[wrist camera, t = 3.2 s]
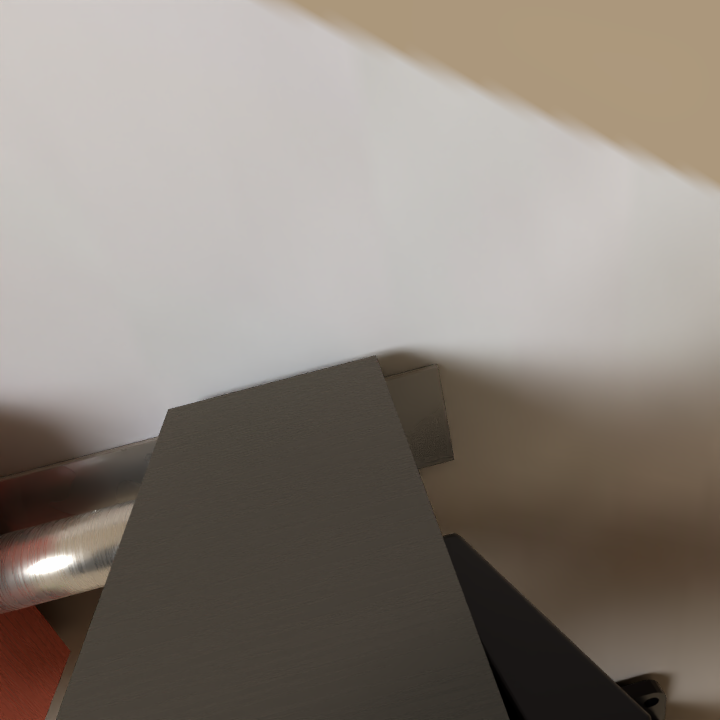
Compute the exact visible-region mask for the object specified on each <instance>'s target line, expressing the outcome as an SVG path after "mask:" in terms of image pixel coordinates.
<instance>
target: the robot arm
mask: <svg viewBox="0 0 720 720" xmlns="http://www.w3.org/2000/svg"><path fill="white" fill-rule="evenodd" d="M442 537H443V540H444V542H445V545H446V548H447V551H448V553H449V556H450V559H451V561H452V564H453V567H454V570H455V572H456V575H457V578H458V580H459V583H460V586H461V589H462V591H463V594H464V597H465V600H466V602H467V605H468V608H469V610H470V613H471V616H472V619H473V621H474V624H475V627H476V630H477V632H478V635H479V638H480V640H481V643H482V646H483V649H484V651H485V654H486V657H487V660H488V662H489V665H490V668H491V670H492V673H493V676H494V679H495V681H496V684H497V687H498V690H499V692H500V695H501V698H502V700H503V703H504V706H505V709H506V711H507V714H508V717H509V720H665V709H666V699H667V698H666V695H665V693H664V692H663V690H662V689H661V687H660V685H659V684H658V682H656V681H655V680H645V681H641V682H637V683H634V684H630V685H626V686H623V687H620V686H618V685H617V684H616V683H615V682H614V681H613V680H612V679H611V678H610V677H609V676H608V675H607V674H606V673H605V672H604V671H603V670H602V669H600V668H599V667H598V666H597V665H596V664H595V663H594V662H593V661H592V660H591V659H590V658H589V657H588V656H587V655H586V654H585V653H584V652H582V651H581V650H580V649H579V648H578V647H577V646H576V645H575V644H574V643H573V642H572V641H571V640H570V639H569V638H568V637H567V636H566V635H564V634H563V633H562V632H561V631H560V630H559V629H558V628H557V627H556V626H555V625H554V624H553V623H552V622H551V621H550V620H549V619H548V618H546V617H545V616H544V615H543V614H542V613H541V612H540V611H539V610H538V609H537V608H536V607H535V606H534V605H533V604H532V603H531V602H530V601H528V600H527V599H526V598H525V597H524V596H523V595H522V594H521V593H520V592H519V591H518V590H517V589H516V588H515V587H514V586H513V585H512V584H511V583H509V582H508V581H507V580H506V579H505V578H504V577H503V576H502V575H501V574H500V573H499V572H498V571H497V570H496V569H495V568H494V567H493V566H491V565H490V564H489V563H488V562H487V561H486V560H485V559H484V558H483V557H482V556H481V555H480V554H479V553H478V552H477V551H476V550H475V549H473V548H472V547H471V546H470V545H469V544H468V543H467V542H466V541H465V540H464V539H463V538H462V537H461V536H459V535H458V534H455V533H453V534H449V535H445V536H442Z"/></svg>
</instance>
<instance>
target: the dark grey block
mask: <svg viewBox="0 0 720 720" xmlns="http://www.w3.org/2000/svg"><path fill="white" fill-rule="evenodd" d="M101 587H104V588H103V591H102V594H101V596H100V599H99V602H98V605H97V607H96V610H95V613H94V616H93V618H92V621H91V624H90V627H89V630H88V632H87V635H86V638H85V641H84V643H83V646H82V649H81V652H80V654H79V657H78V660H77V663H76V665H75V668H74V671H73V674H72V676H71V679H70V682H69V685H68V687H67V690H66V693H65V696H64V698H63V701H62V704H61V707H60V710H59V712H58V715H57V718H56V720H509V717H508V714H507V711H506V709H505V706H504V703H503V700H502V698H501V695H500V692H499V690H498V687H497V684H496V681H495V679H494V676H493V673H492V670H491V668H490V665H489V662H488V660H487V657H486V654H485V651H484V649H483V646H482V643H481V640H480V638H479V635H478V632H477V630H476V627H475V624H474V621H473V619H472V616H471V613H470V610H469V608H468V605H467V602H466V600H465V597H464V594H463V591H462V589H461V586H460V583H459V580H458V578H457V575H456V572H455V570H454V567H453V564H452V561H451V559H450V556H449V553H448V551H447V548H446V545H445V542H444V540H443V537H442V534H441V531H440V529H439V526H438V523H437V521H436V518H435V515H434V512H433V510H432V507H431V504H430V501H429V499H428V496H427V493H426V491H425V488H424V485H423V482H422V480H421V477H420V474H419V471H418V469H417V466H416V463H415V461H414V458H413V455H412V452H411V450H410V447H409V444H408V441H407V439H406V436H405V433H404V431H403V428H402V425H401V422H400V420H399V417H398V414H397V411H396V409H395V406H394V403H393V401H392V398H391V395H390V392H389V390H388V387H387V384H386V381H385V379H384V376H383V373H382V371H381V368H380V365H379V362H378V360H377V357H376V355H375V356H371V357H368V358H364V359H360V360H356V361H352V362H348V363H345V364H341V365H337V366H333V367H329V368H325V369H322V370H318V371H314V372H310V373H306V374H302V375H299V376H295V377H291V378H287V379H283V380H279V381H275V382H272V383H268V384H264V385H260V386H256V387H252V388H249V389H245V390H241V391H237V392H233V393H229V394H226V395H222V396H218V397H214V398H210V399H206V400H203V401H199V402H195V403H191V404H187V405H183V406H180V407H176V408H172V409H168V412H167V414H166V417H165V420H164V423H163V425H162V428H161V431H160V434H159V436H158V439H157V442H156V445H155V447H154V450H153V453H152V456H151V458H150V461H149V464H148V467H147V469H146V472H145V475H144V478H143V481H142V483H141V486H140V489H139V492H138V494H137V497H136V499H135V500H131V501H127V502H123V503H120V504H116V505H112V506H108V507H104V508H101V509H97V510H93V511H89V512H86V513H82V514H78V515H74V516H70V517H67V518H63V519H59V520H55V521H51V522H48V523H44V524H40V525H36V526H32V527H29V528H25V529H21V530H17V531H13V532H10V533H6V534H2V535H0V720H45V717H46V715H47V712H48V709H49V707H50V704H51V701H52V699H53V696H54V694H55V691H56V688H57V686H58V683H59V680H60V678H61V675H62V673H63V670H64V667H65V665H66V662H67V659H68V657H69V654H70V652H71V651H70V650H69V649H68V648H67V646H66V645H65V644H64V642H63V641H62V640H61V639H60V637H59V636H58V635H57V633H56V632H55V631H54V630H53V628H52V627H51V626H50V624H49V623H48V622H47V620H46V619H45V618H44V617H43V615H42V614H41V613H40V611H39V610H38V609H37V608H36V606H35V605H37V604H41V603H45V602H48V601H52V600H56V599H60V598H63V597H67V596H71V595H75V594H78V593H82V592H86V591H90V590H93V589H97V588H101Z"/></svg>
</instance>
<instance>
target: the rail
mask: <svg viewBox="0 0 720 720" xmlns="http://www.w3.org/2000/svg"><path fill="white" fill-rule="evenodd" d="M384 379H385V381H386V384H387V387H388V390H389V392H390V395H391V398H392V401H393V403H394V406H395V409H396V411H397V414H398V417H399V420H400V422H401V425H402V428H403V431H404V433H405V436H406V439H407V441H408V444H409V447H410V450H411V452H412V455H413V458H414V461H415V463H416V466H417V469H421V468H424V467H428V466H432V465H436V464H439V463H443V462H447V461H451V460H454V457H453V451H452V445H451V439H450V433H449V427H448V422H447V416H446V410H445V404H444V398H443V392H442V387H441V381H440V375H439V369H438V366H437V364H434V365H430V366H427V367H423V368H419V369H415V370H411V371H407V372H404V373H400V374H396V375H392V376H388V377H385V378H384ZM157 439H158V437H155V438H151V439H147V440H143V441H140V442H136V443H132V444H128V445H124V446H120V447H117V448H113V449H109V450H105V451H101V452H98V453H94V454H90V455H86V456H82V457H78V458H75V459H71V460H67V461H63V462H59V463H55V464H52V465H48V466H44V467H40V468H36V469H32V470H29V471H25V472H21V473H17V474H13V475H10V476H6V477H2V478H0V535H2V534H6V533H10V532H13V531H17V530H21V529H25V528H29V527H32V526H36V525H40V524H44V523H48V522H51V521H55V520H59V519H63V518H67V517H70V516H74V515H78V514H82V513H86V512H89V511H93V510H97V509H101V508H104V507H108V506H112V505H116V504H120V503H123V502H127V501H131V500H135V499H136V497H137V494H138V492H139V489H140V486H141V483H142V481H143V478H144V475H145V472H146V469H147V467H148V464H149V461H150V458H151V456H152V453H153V450H154V447H155V445H156V442H157Z"/></svg>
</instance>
